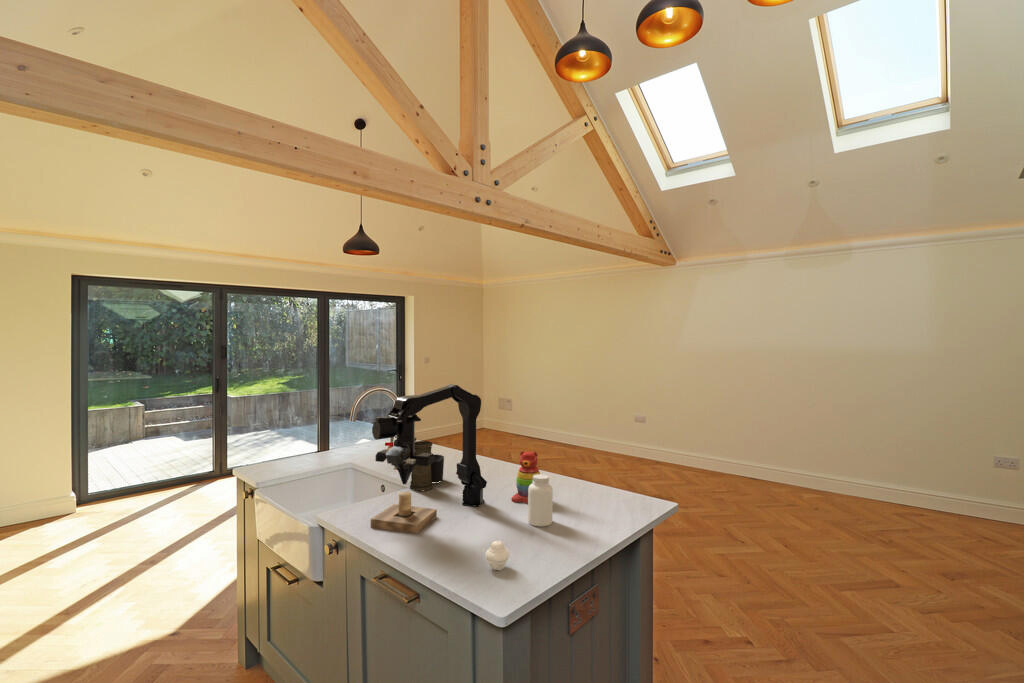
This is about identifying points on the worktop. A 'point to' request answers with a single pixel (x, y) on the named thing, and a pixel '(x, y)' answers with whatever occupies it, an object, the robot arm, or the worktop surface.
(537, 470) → the stacking bear
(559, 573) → the worktop surface
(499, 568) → the cream rounded piece
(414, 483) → the container
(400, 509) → the peg
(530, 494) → the pill bottle
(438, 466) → the pen holder
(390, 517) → the board
